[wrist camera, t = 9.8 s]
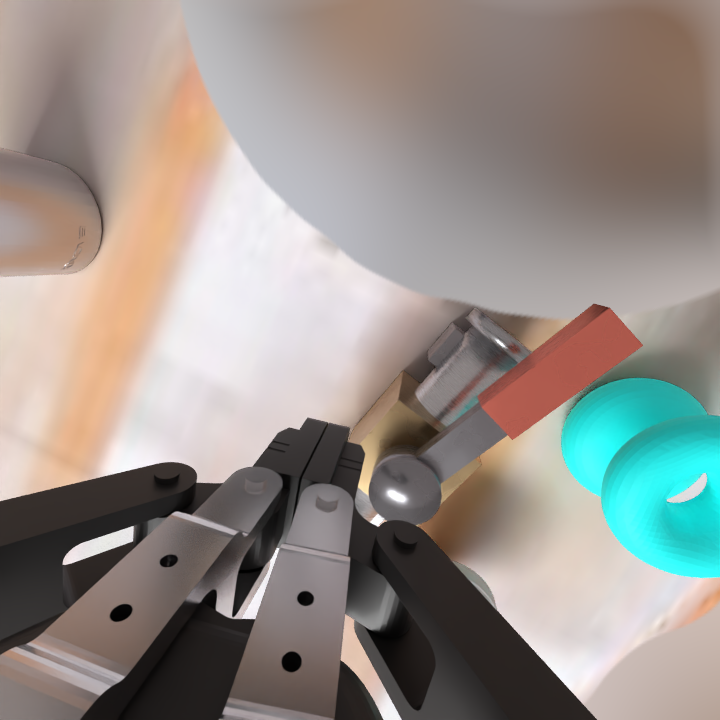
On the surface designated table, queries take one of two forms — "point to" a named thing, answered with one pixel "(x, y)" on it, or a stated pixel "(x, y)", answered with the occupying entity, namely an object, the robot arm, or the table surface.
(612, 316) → the lever
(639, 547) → the donuts
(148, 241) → the table surface
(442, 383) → the valve body
